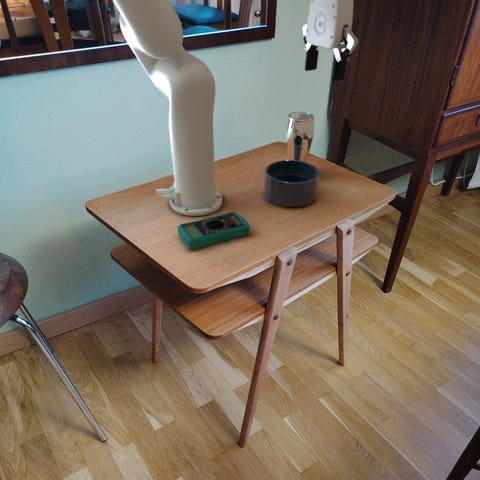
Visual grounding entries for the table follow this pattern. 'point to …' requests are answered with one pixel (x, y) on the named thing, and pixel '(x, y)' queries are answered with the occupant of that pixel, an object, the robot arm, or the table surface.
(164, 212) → the table surface
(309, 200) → the dark blue bowl
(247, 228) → the digital multimeter
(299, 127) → the silver metal tumbler
